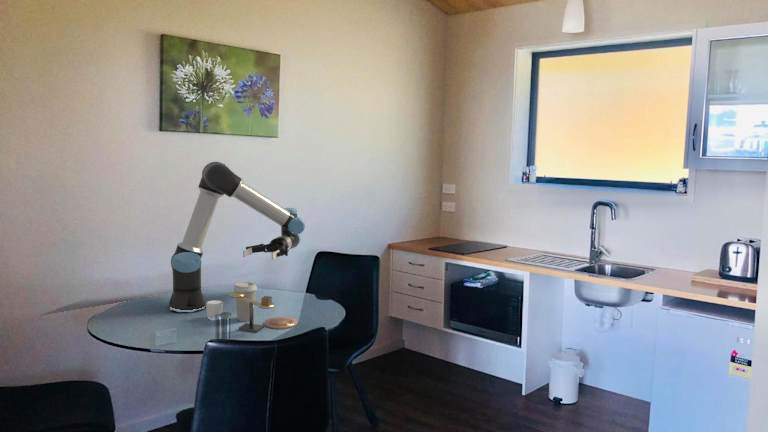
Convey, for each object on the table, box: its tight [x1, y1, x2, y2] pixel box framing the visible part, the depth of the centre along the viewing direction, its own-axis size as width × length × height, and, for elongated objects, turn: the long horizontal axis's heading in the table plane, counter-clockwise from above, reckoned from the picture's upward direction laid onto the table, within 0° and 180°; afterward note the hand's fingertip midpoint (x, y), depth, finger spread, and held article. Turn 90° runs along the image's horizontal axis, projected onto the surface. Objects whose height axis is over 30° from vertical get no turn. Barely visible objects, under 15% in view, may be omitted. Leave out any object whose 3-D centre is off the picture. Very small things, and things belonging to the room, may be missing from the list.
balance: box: [228, 291, 275, 334], centre depth 245 cm, size 19×6×14 cm, turn 75°
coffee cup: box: [233, 281, 258, 323], centre depth 256 cm, size 10×10×15 cm
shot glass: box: [205, 299, 224, 318], centre depth 256 cm, size 7×7×7 cm
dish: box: [264, 316, 298, 330], centre depth 253 cm, size 13×13×1 cm
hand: (257, 255), depth 265 cm, fingers open, 13 cm apart
